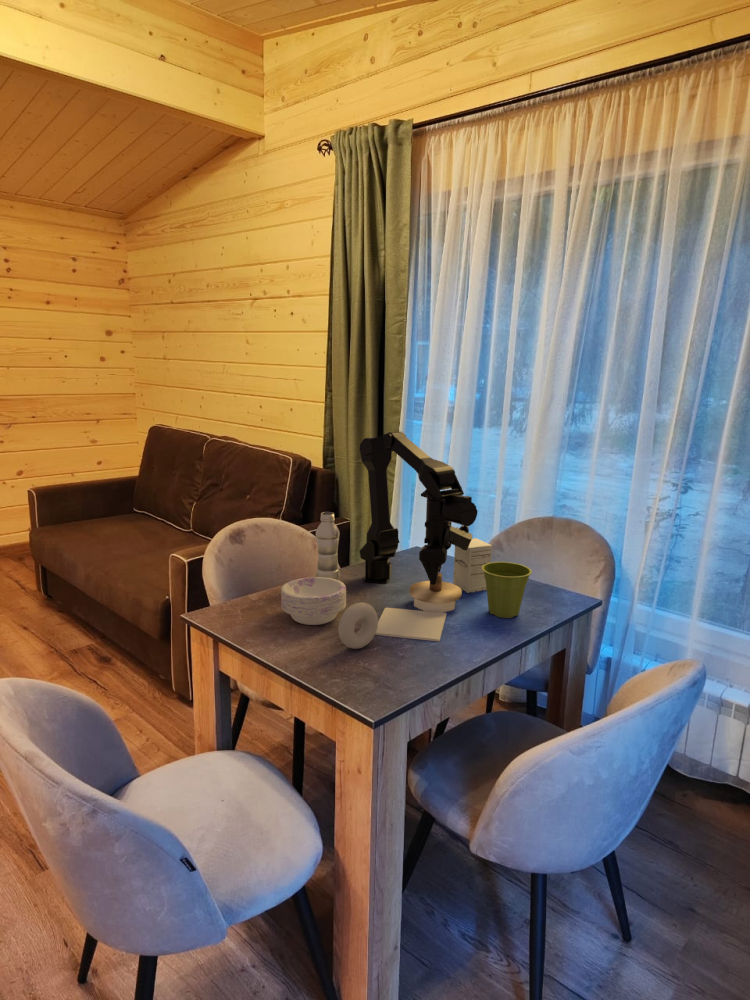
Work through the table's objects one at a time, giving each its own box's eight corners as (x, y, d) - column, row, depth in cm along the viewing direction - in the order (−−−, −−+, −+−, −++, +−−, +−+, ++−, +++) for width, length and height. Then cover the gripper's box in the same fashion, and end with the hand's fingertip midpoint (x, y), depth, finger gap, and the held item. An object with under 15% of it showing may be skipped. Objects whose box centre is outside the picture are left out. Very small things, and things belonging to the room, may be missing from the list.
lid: (405, 600, 154) (405, 580, 153) (413, 582, 166) (414, 564, 165) (459, 605, 151) (460, 585, 150) (463, 586, 164) (464, 568, 163)
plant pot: (538, 619, 151) (541, 574, 149) (492, 624, 148) (495, 578, 146) (513, 601, 162) (516, 559, 160) (471, 606, 159) (473, 563, 157)
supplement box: (452, 584, 174) (454, 540, 171) (474, 581, 177) (477, 537, 174) (466, 593, 168) (469, 547, 165) (490, 589, 171) (492, 544, 168)
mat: (372, 634, 142) (372, 632, 142) (385, 609, 156) (385, 607, 156) (439, 641, 139) (439, 639, 139) (446, 615, 153) (446, 613, 153)
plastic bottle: (341, 581, 175) (341, 510, 171) (337, 590, 169) (337, 517, 164) (318, 580, 176) (317, 510, 172) (313, 588, 169) (313, 516, 165)
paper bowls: (307, 601, 161) (307, 571, 159) (358, 613, 153) (358, 582, 152) (268, 621, 148) (267, 589, 146) (321, 636, 141) (321, 602, 139)
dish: (412, 613, 156) (412, 598, 155) (418, 598, 166) (418, 584, 165) (452, 617, 154) (453, 602, 153) (456, 602, 164) (457, 588, 163)
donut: (370, 638, 140) (371, 595, 138) (381, 643, 137) (381, 600, 135) (334, 651, 134) (334, 606, 131) (345, 657, 131) (345, 611, 129)
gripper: (468, 529, 144) (465, 594, 148) (473, 510, 162) (470, 568, 165) (419, 526, 146) (417, 590, 150) (430, 507, 164) (428, 565, 168)
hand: (435, 578), depth 158 cm, fingers open, 9 cm apart
